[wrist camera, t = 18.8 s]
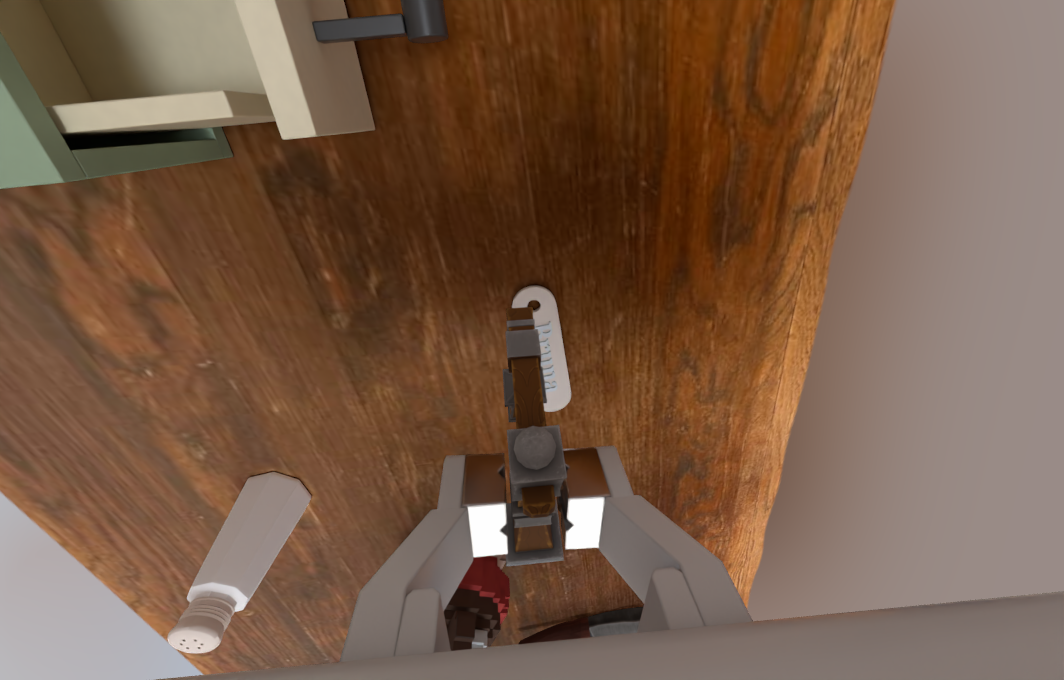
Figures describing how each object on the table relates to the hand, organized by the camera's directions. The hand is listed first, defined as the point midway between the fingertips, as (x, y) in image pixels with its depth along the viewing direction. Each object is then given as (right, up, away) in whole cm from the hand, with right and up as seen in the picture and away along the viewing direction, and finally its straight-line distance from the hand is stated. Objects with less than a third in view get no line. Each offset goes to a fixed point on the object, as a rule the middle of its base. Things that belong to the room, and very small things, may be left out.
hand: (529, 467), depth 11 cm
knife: (+7, -29, +37) cm, 47 cm away
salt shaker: (-21, -9, +23) cm, 33 cm away
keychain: (+1, +3, +19) cm, 19 cm away
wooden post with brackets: (0, +1, +2) cm, 2 cm away
